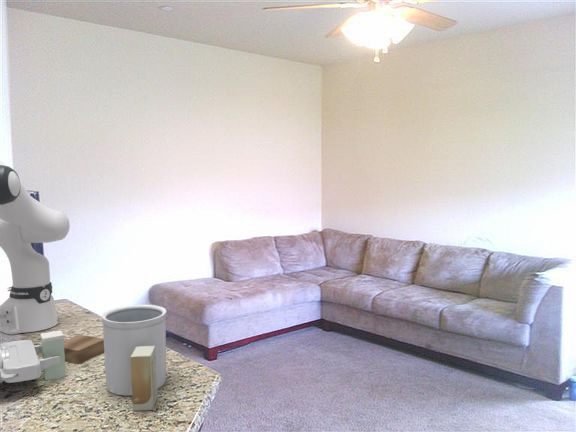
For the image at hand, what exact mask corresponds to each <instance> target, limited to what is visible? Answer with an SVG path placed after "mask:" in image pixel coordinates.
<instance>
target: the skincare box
mask: <svg viewBox="0 0 576 432" xmlns="http://www.w3.org/2000/svg"><path fill="white" fill-rule="evenodd" d="M130 358H131V380H132V395H131V396H132V397H131V398H132V399H131V400H132V411H133V412H138V411H152V410H154V407H155V406H156V402H157V401H158V389H157V376H156V352H155V346H139V347H136V348H135V349H134V351H133V353H132V355H131V357H130Z"/></svg>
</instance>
